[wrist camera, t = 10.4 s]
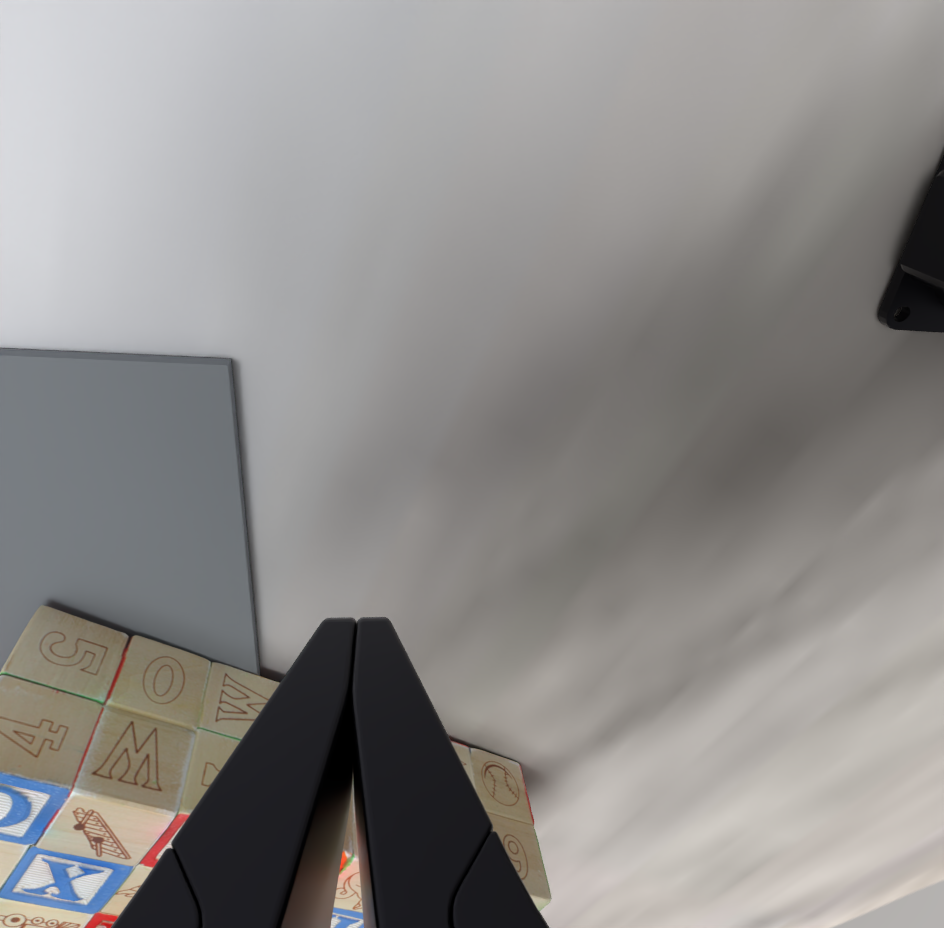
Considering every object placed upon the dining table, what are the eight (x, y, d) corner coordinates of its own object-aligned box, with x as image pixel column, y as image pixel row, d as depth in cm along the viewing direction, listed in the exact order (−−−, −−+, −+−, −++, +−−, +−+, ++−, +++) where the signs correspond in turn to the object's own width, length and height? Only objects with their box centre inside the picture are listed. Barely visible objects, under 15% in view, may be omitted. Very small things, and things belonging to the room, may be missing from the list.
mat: (231, 358, 20) (227, 365, 19) (273, 817, 32) (271, 827, 31) (-236, 337, 18) (-251, 344, 18) (-7, 831, 30) (-13, 842, 29)
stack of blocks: (41, 593, 23) (-77, 799, 27) (-53, 759, 17) (-182, 982, 22) (523, 763, 32) (378, 897, 36) (557, 906, 26) (383, 1043, 31)
